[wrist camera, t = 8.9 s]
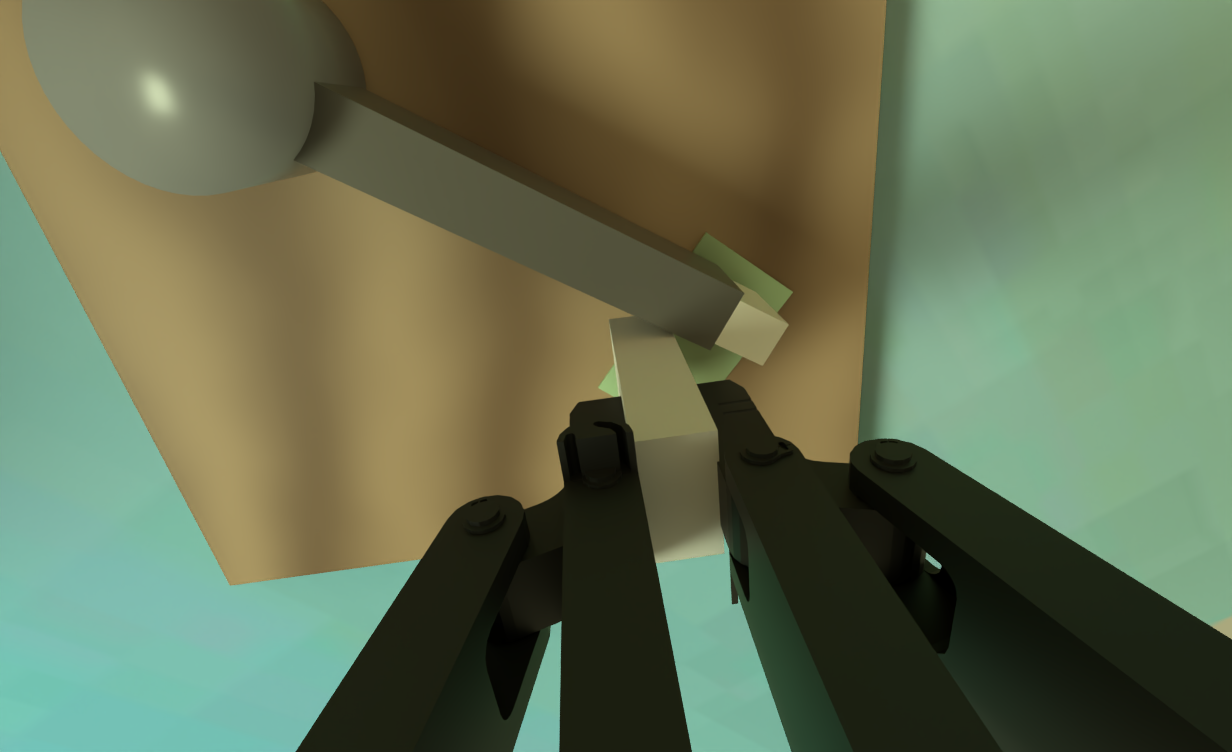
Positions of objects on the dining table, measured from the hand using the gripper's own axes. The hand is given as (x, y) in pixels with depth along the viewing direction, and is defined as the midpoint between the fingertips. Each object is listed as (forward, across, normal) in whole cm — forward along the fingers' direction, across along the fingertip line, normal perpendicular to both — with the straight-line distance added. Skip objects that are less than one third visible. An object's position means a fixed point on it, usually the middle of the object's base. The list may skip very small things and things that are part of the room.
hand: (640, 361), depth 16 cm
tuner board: (+3, -4, +2) cm, 5 cm away
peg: (+1, -3, +5) cm, 6 cm away
